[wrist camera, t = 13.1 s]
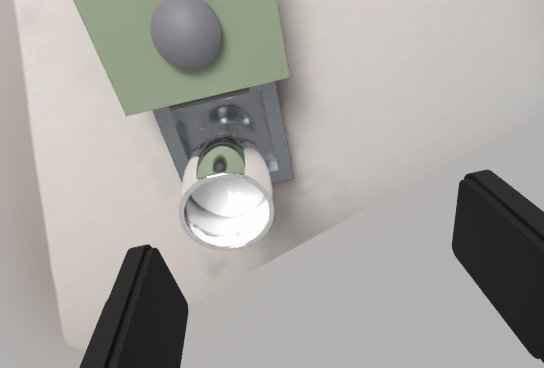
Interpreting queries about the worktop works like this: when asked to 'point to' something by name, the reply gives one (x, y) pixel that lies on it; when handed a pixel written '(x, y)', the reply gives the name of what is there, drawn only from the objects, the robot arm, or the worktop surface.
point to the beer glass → (227, 184)
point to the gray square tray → (257, 104)
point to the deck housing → (185, 49)
